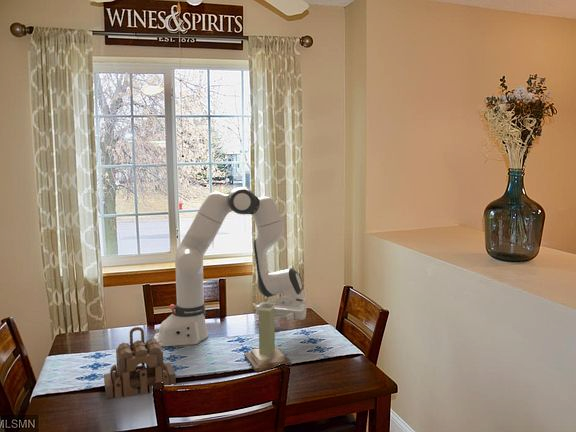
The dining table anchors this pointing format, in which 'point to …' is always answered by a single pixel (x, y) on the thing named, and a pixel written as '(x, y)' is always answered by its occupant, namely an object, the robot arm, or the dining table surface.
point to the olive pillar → (266, 329)
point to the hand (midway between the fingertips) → (274, 317)
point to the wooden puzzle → (138, 368)
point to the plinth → (266, 366)
